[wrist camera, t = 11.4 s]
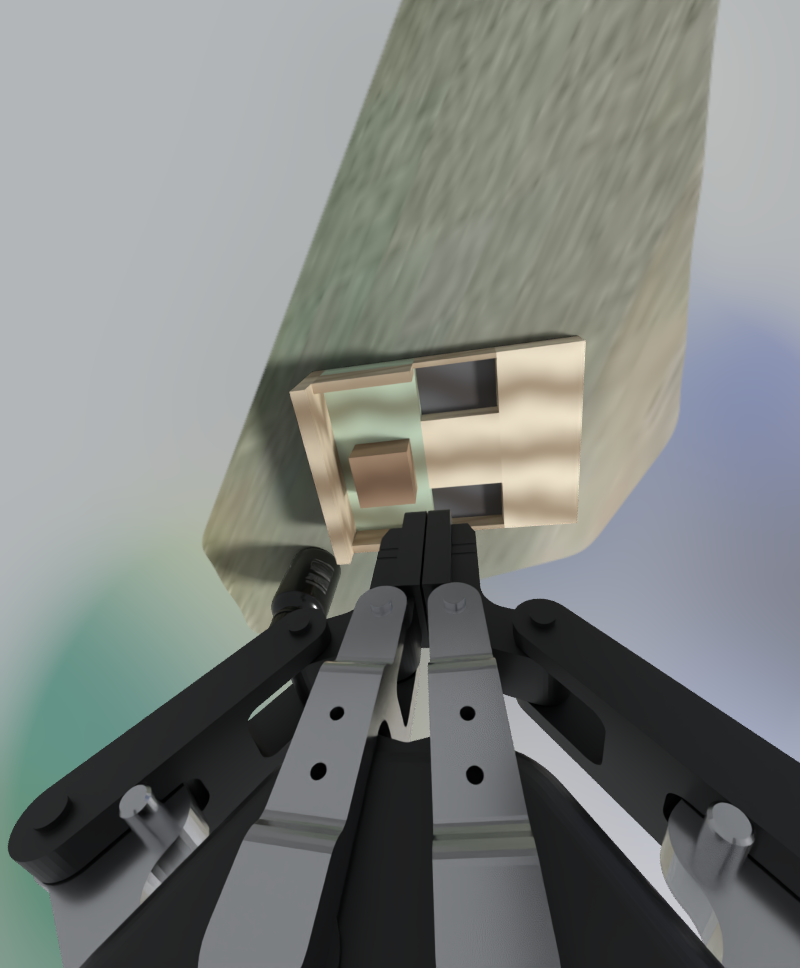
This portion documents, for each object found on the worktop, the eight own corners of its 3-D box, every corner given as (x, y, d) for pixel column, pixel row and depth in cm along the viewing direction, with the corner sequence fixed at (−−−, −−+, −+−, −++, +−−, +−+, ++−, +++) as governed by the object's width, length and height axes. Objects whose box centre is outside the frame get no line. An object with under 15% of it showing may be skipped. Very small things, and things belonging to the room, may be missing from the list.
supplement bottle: (284, 552, 58) (247, 619, 47) (329, 540, 56) (301, 607, 46) (306, 589, 61) (276, 660, 50) (349, 579, 59) (328, 650, 49)
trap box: (312, 371, 45) (289, 391, 39) (578, 335, 41) (602, 351, 35) (350, 527, 55) (337, 564, 48) (571, 511, 50) (589, 550, 44)
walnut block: (355, 444, 46) (348, 458, 43) (409, 438, 45) (406, 451, 42) (365, 492, 49) (360, 508, 46) (417, 487, 48) (415, 503, 45)
